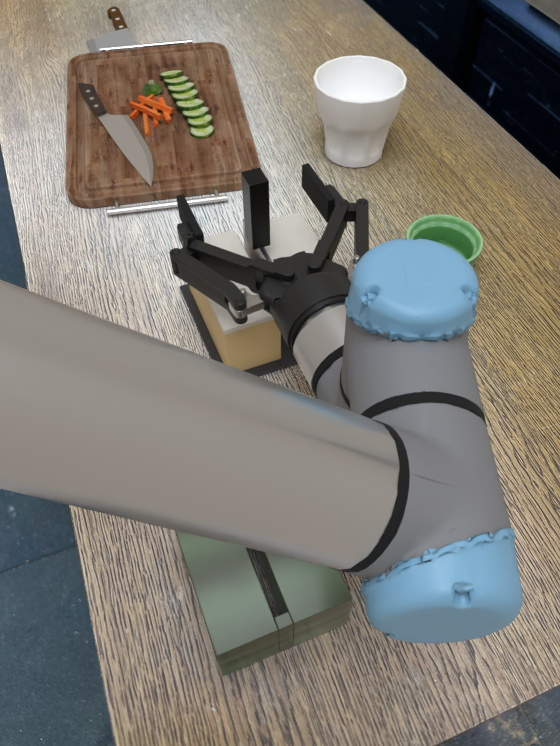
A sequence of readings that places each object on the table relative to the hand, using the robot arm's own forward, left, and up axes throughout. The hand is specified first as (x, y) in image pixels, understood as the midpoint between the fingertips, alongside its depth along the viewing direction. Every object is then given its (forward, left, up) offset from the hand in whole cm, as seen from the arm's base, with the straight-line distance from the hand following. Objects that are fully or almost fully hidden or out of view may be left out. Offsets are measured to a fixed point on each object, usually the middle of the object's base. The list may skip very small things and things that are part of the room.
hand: (244, 189), depth 67 cm
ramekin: (+13, +19, -14) cm, 27 cm away
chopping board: (-37, +13, -14) cm, 42 cm away
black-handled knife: (+3, -1, -13) cm, 14 cm away
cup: (-11, +29, -14) cm, 34 cm away
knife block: (+28, -23, -14) cm, 39 cm away
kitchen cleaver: (-63, +22, -14) cm, 68 cm away
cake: (+5, -2, -14) cm, 15 cm away
